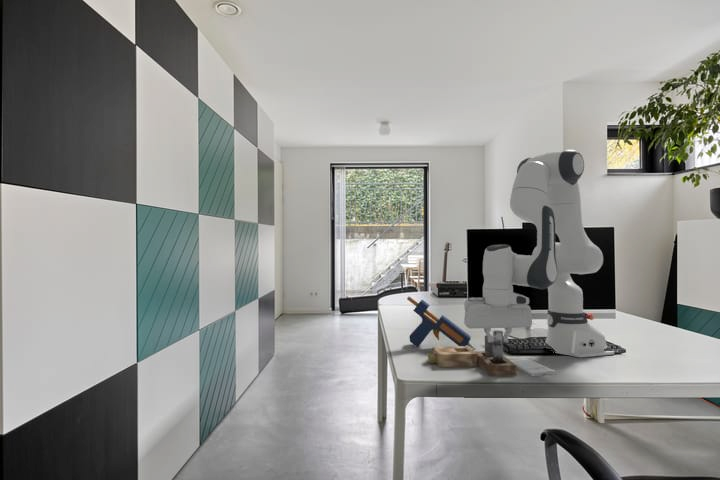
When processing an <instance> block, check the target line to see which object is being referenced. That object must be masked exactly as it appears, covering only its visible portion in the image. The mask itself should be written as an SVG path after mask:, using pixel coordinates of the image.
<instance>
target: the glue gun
mask: <svg viewBox="0 0 720 480" xmlns="http://www.w3.org/2000/svg"><path fill="white" fill-rule="evenodd" d="M406 300H407V301H409V302H410V303H412V305H414V306H415V307H414V309H413V312H414V313H416V314H417V315H418V316H419V317H420V318H421V322H420V324H419V325H418V326H417V327H416V328H415V329H414V330H413V331H412V332H411V333H410V335H409V337H408V338H409V342H410V343H411V344H412V345H414V346H415V347H416V348H419V346H420V345H421V344H422V343H423V342H424V340H425V339H426V338H427V336H428V335H430V333H431V332H432V333H433V335H434V337H435V338H436V339H437V340H438V341H440V336H439V335H440V333H442V334H443V335H444V336H445V337H447V338H448V339H450V340H451V341H452V342H453V343H455V344H456V346H468V347H469V348H471V349H472V350H475V351H476V348H475V347H474V346H473V344H471V343H470V341H471V340H472V339H471V337H472V336H471V335H469V333H467V332H465V331H464V330H463V329H462V328H461V327H459V326H458V325H456V324H455V323H454V322H453V321H451V320H450V319H448V317H446V316H444V315H443V314H442V315H441V316H440V317H439V318H438V317H437V316H435V315H434V314H433V313H432V312H430V311H429V310H428V308H429V307H430V304H429V303H427V302H426V300H424V299H421V300H420V301H419V302H418V301H416V300H415V299H414V298H412V297H411V296H408V297H407V298H406Z"/></svg>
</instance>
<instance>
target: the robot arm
mask: <svg viewBox="0 0 720 480" xmlns="http://www.w3.org/2000/svg"><path fill="white" fill-rule="evenodd" d="M584 169H585V162H584V158H583V155H582V154H581V153H580V152H579V151H578V150H574V149H564V150H561V151H559V150H558V151H550V152H546V153H544V154H539V155H536V156H531V157H526V158H524V159H523V160H522V161H521V162H520V163H519V164H518V166H517V168H516V175H515V178H514V181H513V185H512V189H511V193H510V199H509V207H510V211H512V213H513V214H514V215H515V216H516V217H517V218H519V219H521V220H523V221H526V223H527V222H528V223H531V224H533V225H534V226H535V227H536V231H537V232H536V239H537V240H536V246H535V247H534V249H533V251H532V253H531V255H530V254H528V255H525V254H517V253H515V252H513V250H512V247H511V246H510V245H509V244H505V243H504V244H503V243H500V244H498V243H497V244H492V245H488V246H487V247H486V248H485V249H484V254H483V260H482V275H483V285H482V297H469V298H467V299H466V300H465V301H464V303H463V304H464V305H463V307H464V311H465V312H464V317H463V318H464V319H463V323H464V325H465V327H466V328H468V329H473V330H474V329H483V330H484V333H485V335H487V336H488V342H489V343H494V337H493V335H492V336H491V332H492V331H491V330H492V329H504V330H505V332H504V333H503V343H508V342H509V337H510V335H511V333H512V332H513V329H517V328H518V329H520V328H521V329H524V328H525V329H526V328H531V326H532V325H533V313H532V309H531V306H530V305H529V304H530V297H527V295H526V296H525V295H523V294H520V293H518V292H514V286H513V285H516V286H519V287H520V286H522V287H530V288H534V289H539V290H545V289H547V292H548V293H547V294H548V296H547V297H548V309H547V319H546V321H547V332H546V339H545V342H546V343H547V344H548V345H549V346H551V347H552V348H553V349H554V350H555V351H556V352H555V353H556V354H560V355H565V356H571V357H576V358H591V357H599V356H602V357H603V356H611V355H615V350H613V351H604V349H606V348H607V347H608V346H607V341H606V340H607V339H606V337H605V334H604V333H602V332H601V331H600V330H598V329H597V328H596V327H594V325H592V324H591V323H590V322H589V321H588V320H590V321H593V320H594V319H595V317H594V314H591V313H586V312H584V307H583V306H584V303H583V302H584V295H583V294H584V293H583V289H582V288H581V287H580V286H579V285H577V284H576V283H575V282H574V280H573V278H572V276H571V274H574V275H575V274H577V275H586V274H587V275H588V274H594V273H597V272H598V271H599V270H600V269H601V267H602V266H603V264H604V255H603V252H602V250H601V249H600V247H598V245H596V244H595V243H593V241H592V240H591V239H590V238H589V237H588V235H587V232H586V231H585V229H584V225H583V219H582V206H581V205H582V204H581V201H582V200H581V192H580V191H581V190H580V187H579V182H578V180H579V179H580V178H581V177H582V175H583V173H584ZM556 236H557V237H558V239H559V242H557V241H556Z"/></svg>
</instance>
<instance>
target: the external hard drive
mask: <svg viewBox="0 0 720 480" xmlns="http://www.w3.org/2000/svg"><path fill="white" fill-rule="evenodd" d="M509 360H510V361H511V362H513V363H514V364H515V365H516V370H519V371H521V372H523V373H525V374H528V375H529V376H531V377H536V376H543V375H544V376H545V375H546V376H547V375H555V374H556V370H554V369H552V368H549V367H548V366H545V365H542V364H541V363H539V362H536V361H534V360H532V359H530V358H520V359H519V358H518V359H517V358H516V359H509Z"/></svg>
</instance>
